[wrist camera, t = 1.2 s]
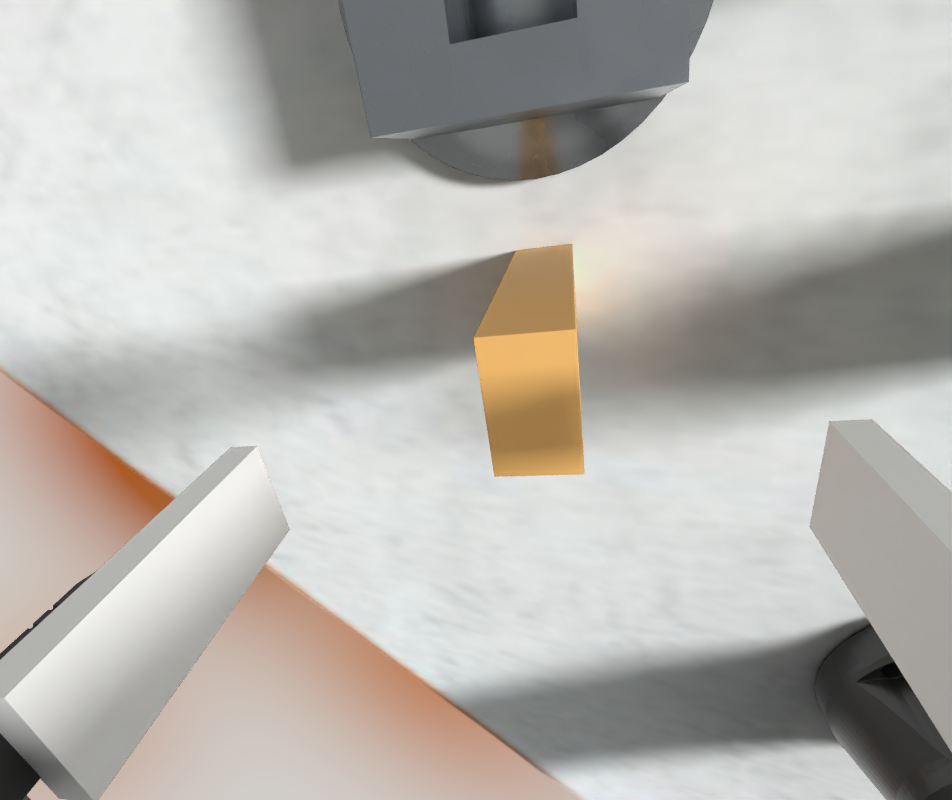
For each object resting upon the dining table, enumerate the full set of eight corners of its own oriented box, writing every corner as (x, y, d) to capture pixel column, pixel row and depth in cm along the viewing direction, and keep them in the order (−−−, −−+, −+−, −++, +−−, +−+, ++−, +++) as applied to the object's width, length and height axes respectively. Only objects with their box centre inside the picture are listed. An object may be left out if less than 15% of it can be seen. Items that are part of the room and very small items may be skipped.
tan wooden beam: (577, 333, 29) (584, 474, 17) (525, 337, 29) (494, 476, 17) (572, 243, 27) (576, 329, 14) (516, 250, 27) (473, 337, 15)
